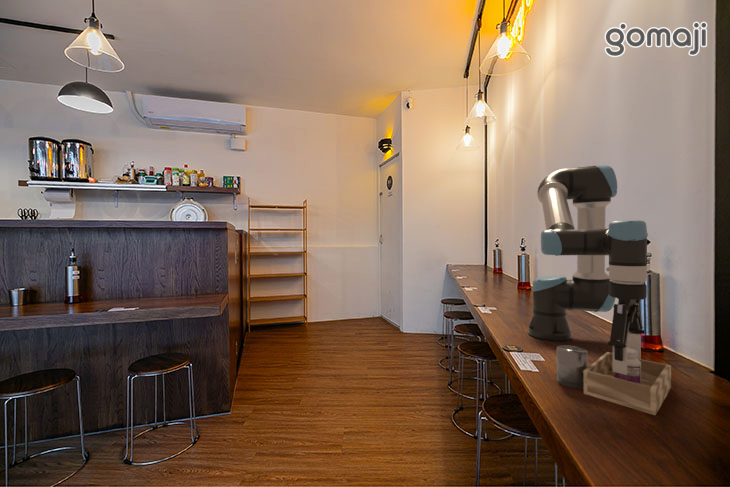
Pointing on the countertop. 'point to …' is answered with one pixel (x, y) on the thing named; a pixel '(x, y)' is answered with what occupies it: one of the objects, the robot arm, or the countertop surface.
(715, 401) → the countertop surface
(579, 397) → the countertop surface
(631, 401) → the caddy
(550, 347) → the countertop surface
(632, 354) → the pill bottle
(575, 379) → the tin can
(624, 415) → the countertop surface
